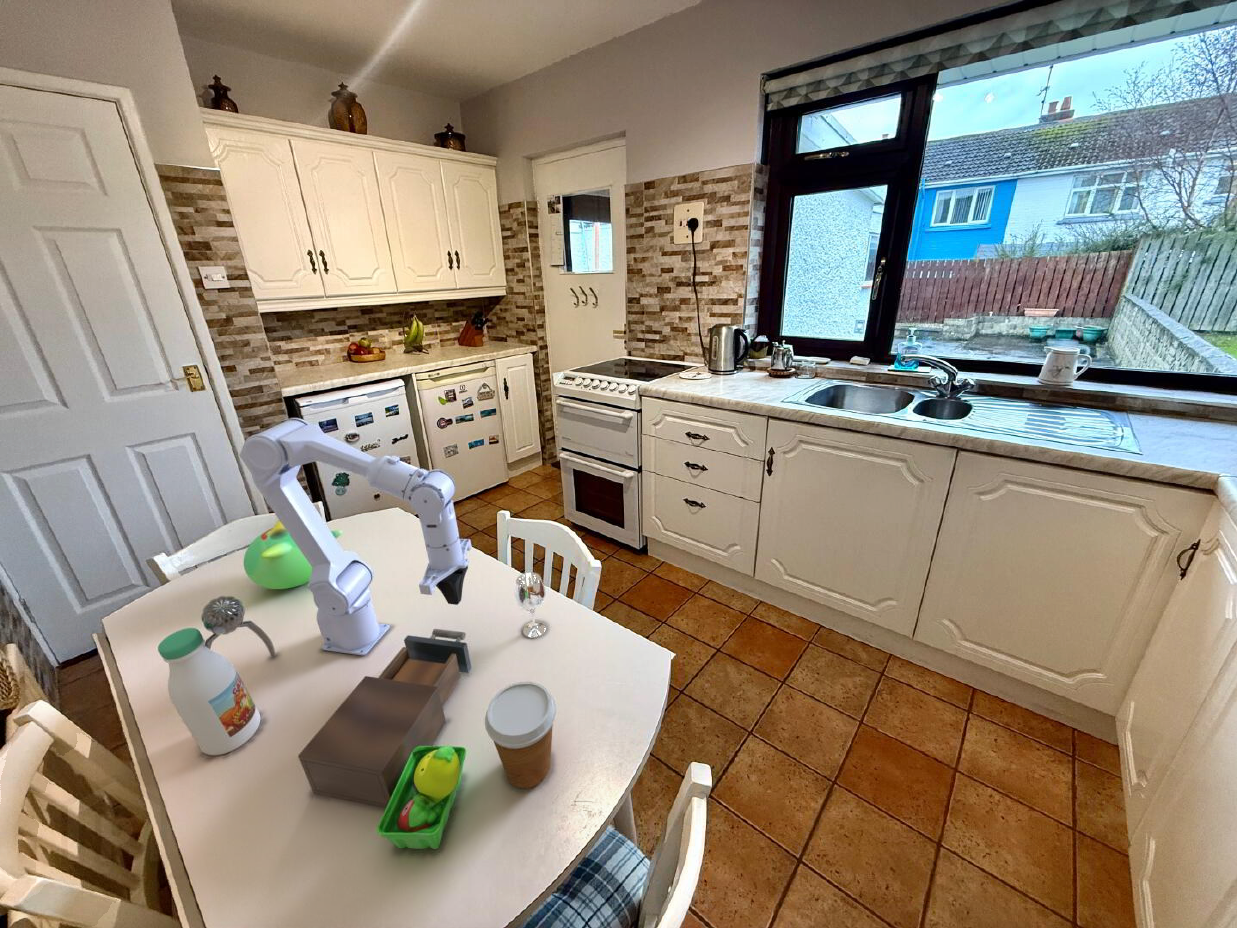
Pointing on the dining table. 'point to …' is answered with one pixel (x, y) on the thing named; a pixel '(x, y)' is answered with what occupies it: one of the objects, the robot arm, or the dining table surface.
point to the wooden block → (418, 672)
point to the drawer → (435, 658)
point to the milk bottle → (208, 693)
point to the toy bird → (277, 560)
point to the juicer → (229, 620)
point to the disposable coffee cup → (522, 731)
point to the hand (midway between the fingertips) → (454, 601)
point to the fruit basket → (423, 797)
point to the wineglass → (530, 600)
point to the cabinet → (372, 740)
